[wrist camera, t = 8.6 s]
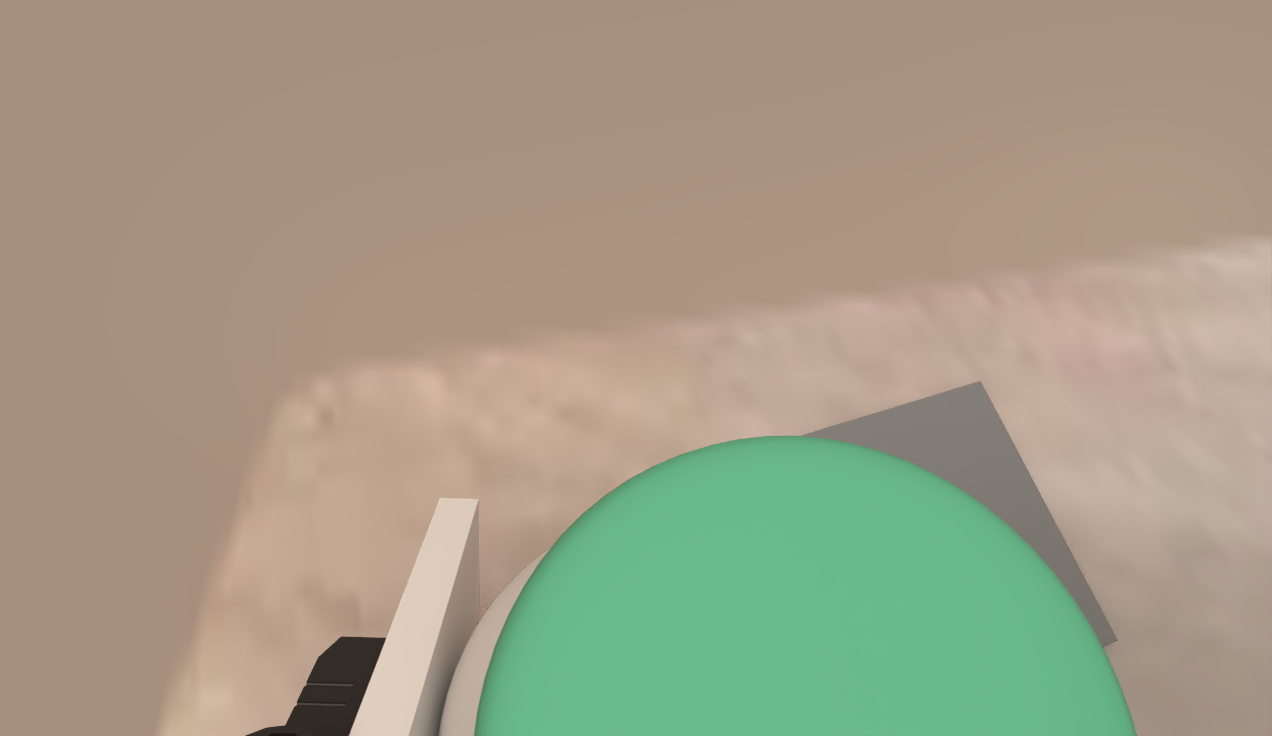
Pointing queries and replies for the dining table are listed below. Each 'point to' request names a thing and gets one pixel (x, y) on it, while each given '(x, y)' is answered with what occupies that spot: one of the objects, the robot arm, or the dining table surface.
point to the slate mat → (975, 472)
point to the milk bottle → (786, 612)
